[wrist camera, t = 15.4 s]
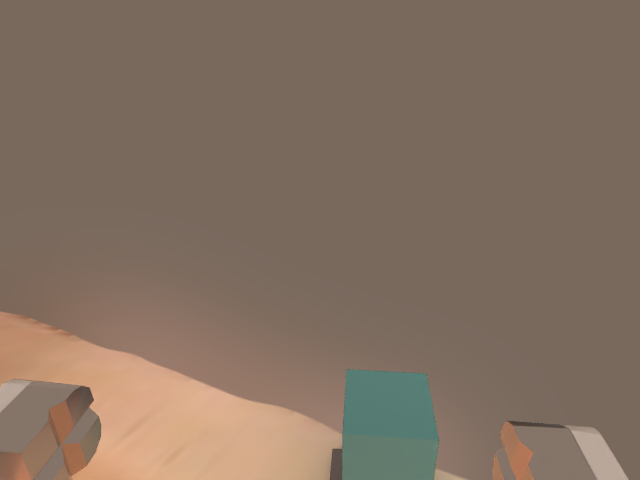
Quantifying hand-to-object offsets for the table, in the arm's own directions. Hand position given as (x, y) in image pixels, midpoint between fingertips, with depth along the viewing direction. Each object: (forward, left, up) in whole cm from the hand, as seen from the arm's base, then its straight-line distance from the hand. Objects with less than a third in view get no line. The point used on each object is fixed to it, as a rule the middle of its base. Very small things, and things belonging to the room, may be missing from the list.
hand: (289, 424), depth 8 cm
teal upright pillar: (+3, +15, -24) cm, 28 cm away
